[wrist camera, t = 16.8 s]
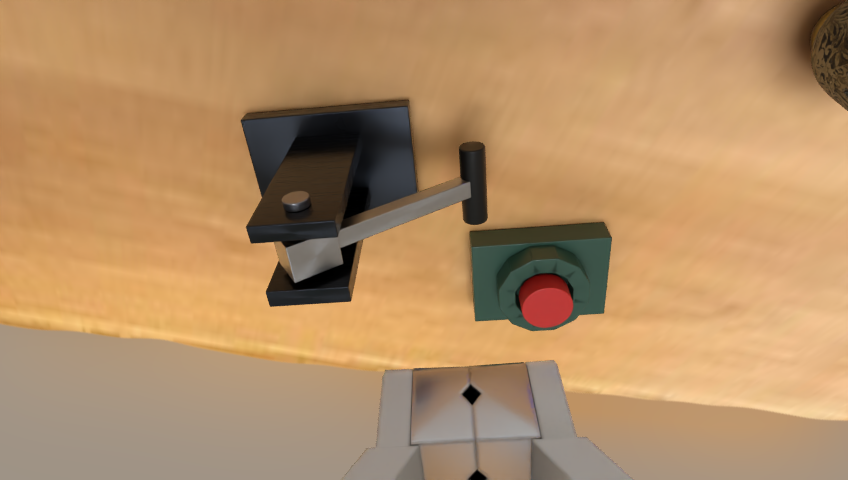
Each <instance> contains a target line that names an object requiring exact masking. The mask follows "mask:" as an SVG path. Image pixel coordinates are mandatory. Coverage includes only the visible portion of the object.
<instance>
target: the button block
mask: <svg viewBox="0 0 848 480" xmlns="http://www.w3.org/2000/svg"><path fill="white" fill-rule="evenodd" d="M611 241H612V237H611V235H610V233H609V231H608V229H607V227H606V226H605V224H604V222H601V223H587V224H573V225H558V226H544V227H530V228H516V229H502V230H488V231H474V232H470V248H471V266H472V284H473V303H474V313H475V321H489V320H505V319H508V320H509V321H510V322H511V323H512V324H514V325H517V326H520V327H522V328H525V329H528V330H530V331H541V330H555V329H557V328H559V327H561V326H563V325H565V324H567V323H569V322H571V321H574V320H575V319H576V318H577V317H578V316H579V315H587V314H603V313H604V308H605V298H606V289H607V279H608V270H609V260H610V251H611ZM539 274H553V275H556V276H558V277H560V278H562V279H563V280H564V281H565V282H566V284H567V286H568V289H569V291H570V294H571V297H572V300H573V310H572V313H571V315H570V316H569V317H568V319H567V320H565V321H564V322H563V323H561V324H559V325H557V326H554V327H548V328H542V327H537V326H534V325H532V324H530V323H529V322H527V321H526V320H525V318H524V317H523V314H522V310H521V306H520V301H519V291H520V288H521V286H522V285H523V284H524V282H525V281H527V280H528V279H529V278H531V277H533V276H536V275H539Z"/></svg>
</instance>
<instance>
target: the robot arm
mask: <svg viewBox="0 0 848 480" xmlns="http://www.w3.org/2000/svg"><path fill="white" fill-rule="evenodd" d="M379 409H380V410H379V419H378V429H377V439H376V440H377V441H376V448H367V449H366V450H365V451H364V453H363V454H362V455H361V456H360V457H359V459H358V460H357V461H356V462H355V463H354V465H353V466H352V467H351V468H350V470H349V471H348V472H347V473H346V474H345V476H344V477H343V478H342V479H341V480H634V479H633V478H631V477H630V476H629V475H628V474H627V473H626V472H625V471H624V470H623V469H621V468H620V467H619V466H618V465H617V464H616V463H615V462H614V461H613V460H611V459H610V458H609V457H608V456H607V455H606V454H605V453H604V452H602V451H601V450H600V449H599V448H598V447H597V446H596V445H595V444H594V443H592V442H591V441H590V440H589V439H588V438H587V437H577V435H576V431H575V427H574V424H573V420H572V416H571V413H570V410H569V406H568V402H567V399H566V395H565V391H564V387H563V384H562V380H561V377H560V373H559V369H558V366H557V364H556V362H555V361H554V360H549V361H534V362H525V363H524V362H521V363H506V364H492V365H477V366H469V367H442V368H414V369H401V370H385V372H384V375H383V378H382V388H381V398H380V408H379Z"/></svg>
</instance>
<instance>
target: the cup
mask: <svg viewBox="0 0 848 480" xmlns="http://www.w3.org/2000/svg"><path fill="white" fill-rule="evenodd" d="M810 46H811V50H812V54H811V63H812V69H813V72H814V75H815V78H816V80H817V81H818V83H819V84H820V86H821V87H822V88H823V89H824V91H825V92H826V93H827V94H828V95H829V96H830V97H832V98H833V99H834V100H835V101H836V102H837V103H839V104H840V105H841V106H842V107H844V108H845V109H846V110H847V111H848V0H847V1H845V2H844V3H842V4H840V5H837V6H835V7H833V8H832V9H830V10H829V11H827V12H826V13H825V14H824V15H823V16H822V17H821V18H820V19H819V20H818V21H817V23H816V24H815V26H814V28H813V30H812V33H811V37H810Z"/></svg>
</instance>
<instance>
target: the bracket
mask: <svg viewBox="0 0 848 480" xmlns="http://www.w3.org/2000/svg"><path fill="white" fill-rule="evenodd" d="M241 123H242V127H243V131H244V134H245V138H246V141H247V145H248V149H249V152H250V156H251V160H252V163H253V167H254V170H255V174H256V178H257V181H258V185H259V188H260V192H261V196H262V199H261V201H260V203H259V204H258V206H257V208H256V210H255V212H254V213H253V215H252V217H251V219H250V221H249V222H248V224H247V226H246V229H247V232H248V235H249V238H250V242H251V243H265V242H279V241H293V240H308V239H322V238H336V237H338V235H339V231H340V228H341V224H342V220H343V219H346V218H349V217H352V216H354V215H357V214H360V213H363V212H365V211H368V210H371V209H373V208H376V207H379V206H382V205H384V204H387V203H390V202H393V201H395V200H398V199H401V198H404V197H406V196H409V195H412V194H414V193H417V192H419V190H418V180H417V171H416V162H415V152H414V143H413V133H412V124H411V115H410V105H409V100H402V101H390V102H378V103H366V104H354V105H343V106H331V107H319V108H307V109H296V110H284V111H272V112H260V113H249V114H246V115H245V116H244V117H243V118H242V119H241ZM362 243H363V239H362V240H360V241H357V242H355V243H352V244H350V245H347V246H344V247H342V248H340V249H341V254H342V259H343V264H341V265H339V266H337V267H334V268H332V269H329V270H327V271H324V272H322V273H319V274H317V275H314V276H312V277H309V278H307V279H304V280H302V281H299V282H297V283H295V282H294V281H293V280H292V278H291V277H290V276H289V274H288V273H287V272H286V270H285V269H284V268H283V267H282V265H281V264H280V262H279V261H278V264H277V266H276V269H275V271H274V273H273V276H272V278H271V281H270V283H269V286H268V288H267V290H266V295H267V298H268V301H269V305H270V307H272V306H288V305H304V304H319V303H335V302H350V301H351V299H352V294H353V289H354V284H355V279H356V274H357V269H358V263H359V258H360V253H361V248H362Z"/></svg>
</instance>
